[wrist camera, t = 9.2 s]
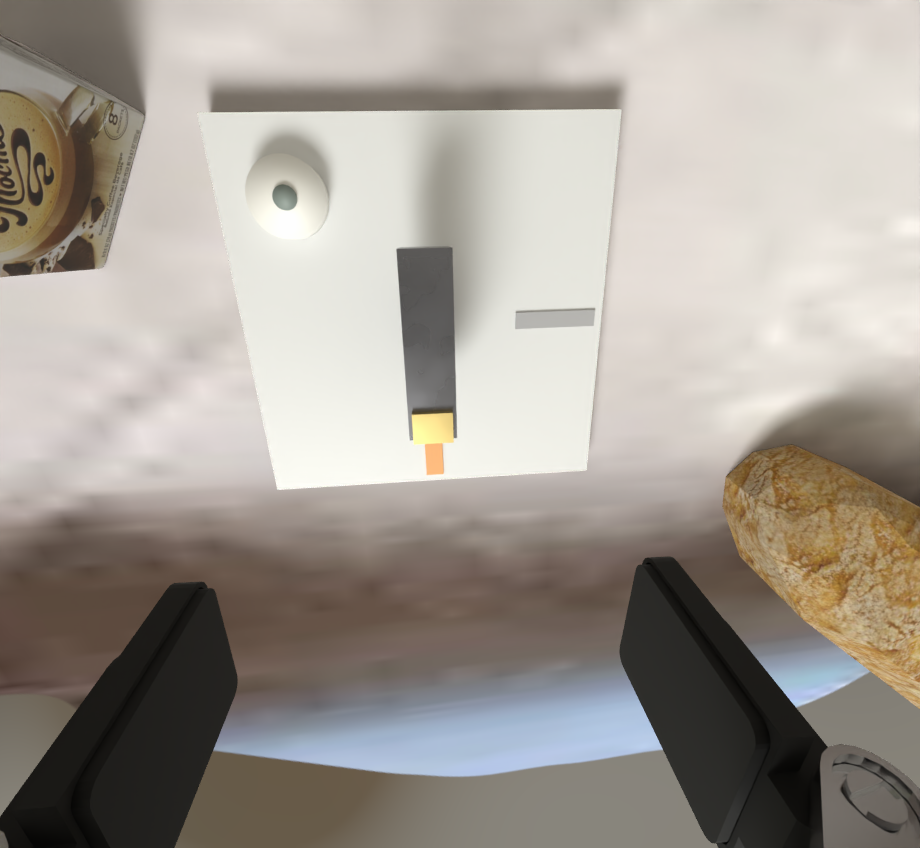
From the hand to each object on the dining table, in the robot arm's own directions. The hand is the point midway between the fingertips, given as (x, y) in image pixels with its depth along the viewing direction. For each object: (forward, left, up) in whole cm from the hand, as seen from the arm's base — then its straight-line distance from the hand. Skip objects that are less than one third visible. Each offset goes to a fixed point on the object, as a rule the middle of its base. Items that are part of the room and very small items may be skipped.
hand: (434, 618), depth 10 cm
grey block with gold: (0, +3, -20) cm, 20 cm away
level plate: (0, +3, -22) cm, 22 cm away
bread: (+38, -21, -22) cm, 49 cm away
